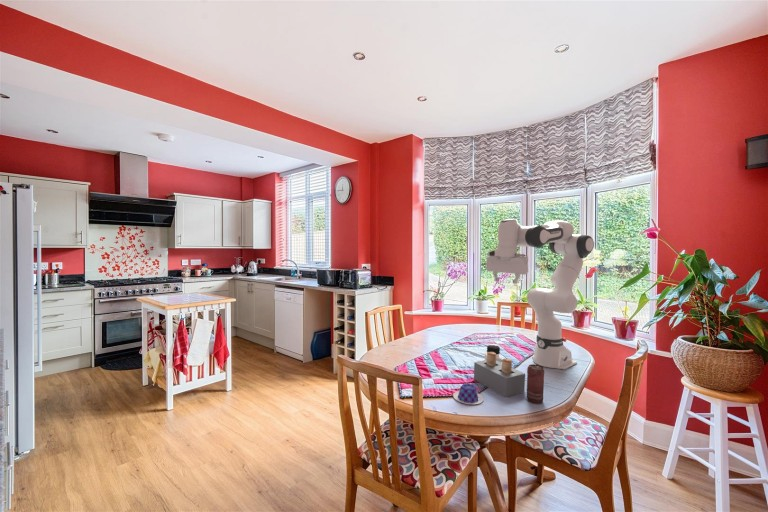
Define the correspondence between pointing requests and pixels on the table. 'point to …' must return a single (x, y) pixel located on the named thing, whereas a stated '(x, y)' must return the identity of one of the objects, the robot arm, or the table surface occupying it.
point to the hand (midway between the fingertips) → (505, 282)
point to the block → (499, 378)
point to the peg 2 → (506, 366)
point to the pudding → (468, 394)
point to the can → (535, 383)
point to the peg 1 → (491, 359)
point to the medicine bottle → (496, 350)
